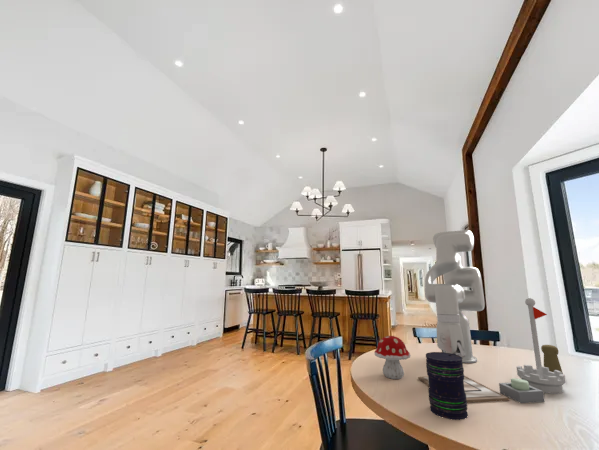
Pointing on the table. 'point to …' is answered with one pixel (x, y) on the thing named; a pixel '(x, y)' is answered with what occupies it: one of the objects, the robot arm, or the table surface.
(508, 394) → the button housing
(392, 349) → the decorative mushroom
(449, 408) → the navy striped cylinder
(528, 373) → the flag stand
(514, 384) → the button
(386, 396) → the table surface
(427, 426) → the table surface
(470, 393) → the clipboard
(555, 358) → the cork
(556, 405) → the table surface
